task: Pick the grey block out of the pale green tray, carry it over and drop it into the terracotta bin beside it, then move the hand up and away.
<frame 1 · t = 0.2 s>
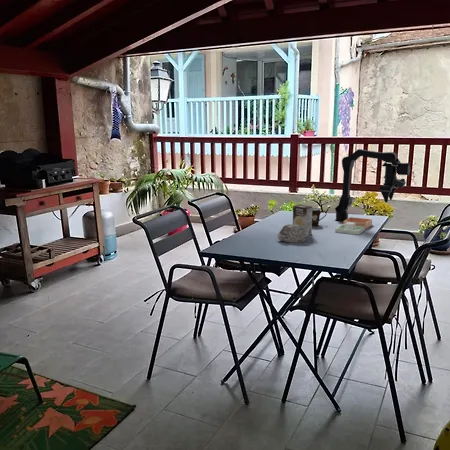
hand: (388, 201, 268), 14 cm above the table, tool pointing down, fingers open, 9 cm apart
terracotta bin: (357, 226, 270), on the table
rock: (292, 241, 242), on the table
coffee mug: (315, 225, 276), on the table
grey block: (350, 230, 258), resting on pale green tray
coffee box: (302, 234, 255), on the table
pale green tray: (350, 231, 258), on the table
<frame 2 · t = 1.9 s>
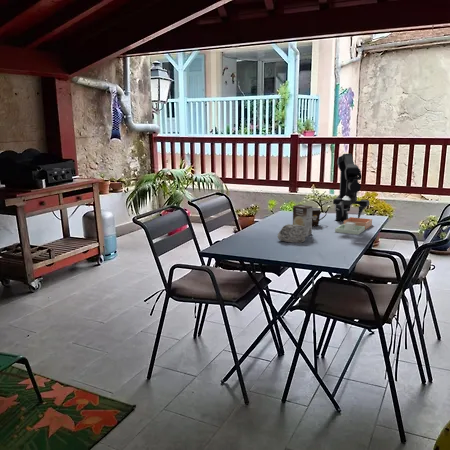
hand: (350, 217, 257), 8 cm above the table, tool pointing down, fingers open, 9 cm apart
nothing on the table moved.
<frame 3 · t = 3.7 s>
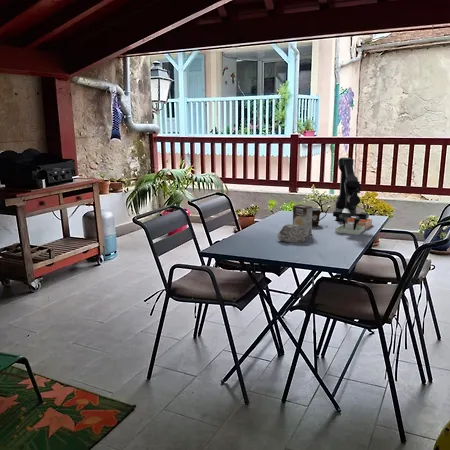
hand: (350, 229, 258), 1 cm above the table, tool pointing down, fingers closed on grey block, 4 cm apart
grey block: (350, 230, 258), resting on pale green tray, touching gripper
everything else where it was.
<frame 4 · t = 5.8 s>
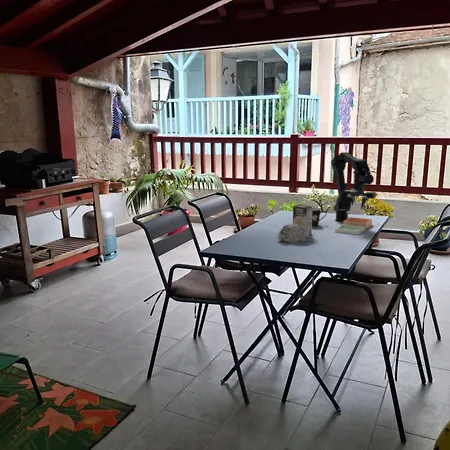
hand: (357, 208, 267), 11 cm above the table, tool pointing down, fingers closed on grey block, 4 cm apart
grey block: (357, 210, 267), point 10 cm above the table, touching gripper
everything else where it was.
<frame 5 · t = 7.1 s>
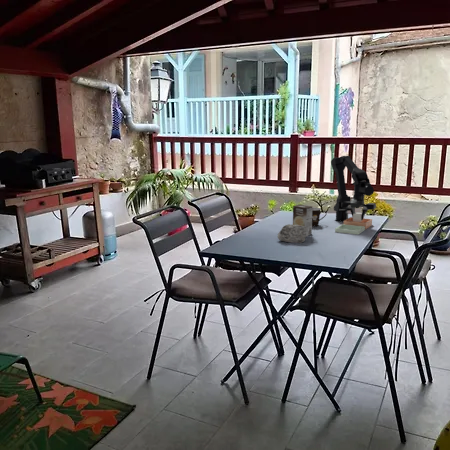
hand: (357, 219, 269), 4 cm above the table, tool pointing down, fingers closed on grey block, 4 cm apart
grey block: (357, 220, 269), point 4 cm above the table, touching gripper
everything else where it was.
when the fingers open (3 cm above the table, at t = 8.0 s): grey block drops 2 cm, resting on terracotta bin.
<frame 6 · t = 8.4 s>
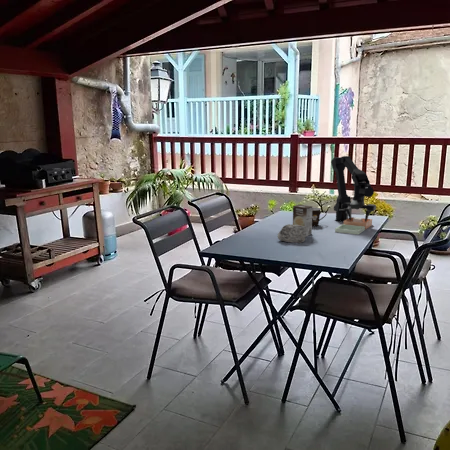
hand: (357, 220, 269), 3 cm above the table, tool pointing down, fingers open, 9 cm apart
grey block: (357, 225, 270), resting on terracotta bin
everything else where it was.
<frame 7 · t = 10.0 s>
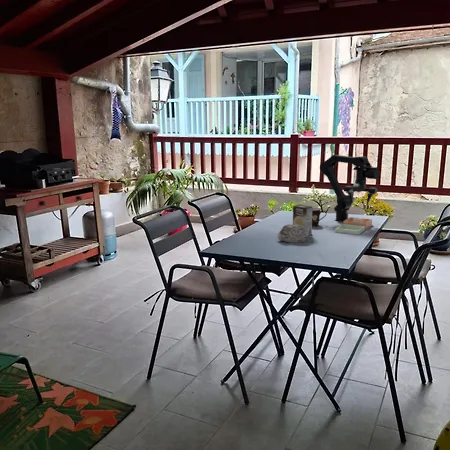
hand: (359, 203, 275), 12 cm above the table, tool pointing down, fingers open, 9 cm apart
nothing on the table moved.
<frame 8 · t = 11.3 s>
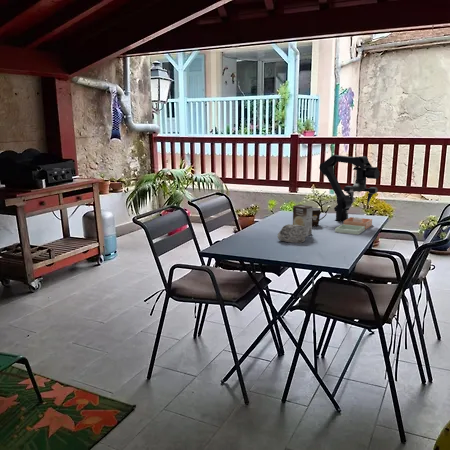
hand: (360, 203, 275), 12 cm above the table, tool pointing down, fingers open, 9 cm apart
nothing on the table moved.
at the end: grey block inside the target area on the terracotta bin (0.1 cm from its centre), point 0.5 cm above the terracotta bin's base; the gripper is holding nothing; grey block touching terracotta bin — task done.
